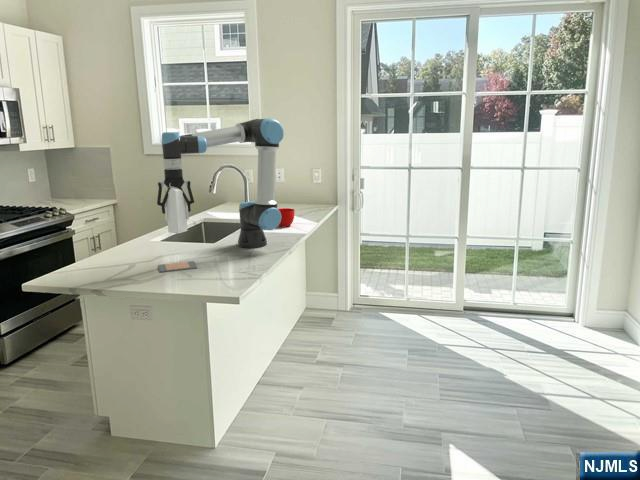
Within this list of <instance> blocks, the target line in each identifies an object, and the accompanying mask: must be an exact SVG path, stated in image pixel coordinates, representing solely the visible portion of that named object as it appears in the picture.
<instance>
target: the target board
mask: <svg viewBox="0 0 640 480" xmlns="http://www.w3.org/2000/svg"><path fill="white" fill-rule="evenodd" d="M157 266H158V272H159V274H160V273H161V274H162V273H169V272H170V273H171V272H177V271H185V270H186V271H187V270H194V269H198V266H197V264H196V262H195V261H194V260H191V261H181V262H174V263H173V262H172V263H164V264H158V265H157Z"/></svg>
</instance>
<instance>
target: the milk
mask: <svg viewBox="0 0 640 480" xmlns="http://www.w3.org/2000/svg"><path fill="white" fill-rule="evenodd" d="M170 187H171V186H170ZM168 188H169V187H167V188H165V190H164V195H165V194H166V192H167V190H168ZM181 188H182V189H183V191H184V193H185V194H186V191H185V188H184V187H183V186H182V187H181ZM183 191H181V190H180V189H179V188H176V187H173V186H172V187H171V188H170V190H169V192H168V198H167V201H166V203H165V206H166V207H167V219H168V221H167V231H168V233H173V234H181V233H185V232H188V220H187V216H186V204H187V203H186V201H185V199H184V197H183Z"/></svg>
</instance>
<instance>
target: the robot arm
mask: <svg viewBox="0 0 640 480" xmlns="http://www.w3.org/2000/svg"><path fill="white" fill-rule="evenodd" d="M284 135H285V131H284V127H283V125H282V124H281V123H280V121H279V120H277V119H273V118H254V119H251V120H248V121H243V122H239V123H236V124H235V125H234V126H229V127H222V128H218V129H217V128H216V129H211V130H206V131H200V132H194V133H190V134H188V133H187V134H182V135H181V134H180V132H179V131H173V132H172V131H170V132H167V131H165V132H163V133H162V134H161V148H162V156H163V157H162V158H163V159H162V161H163V168H164V171H163V173H164V180H163V181H162V182H161V181H158V182H157V186H158V191H157V199H156V205H157V206H160V207H161V213H162V214H163V215H164V219H165V222H168V219H167V207H166V201H167V198H168V192H169V190H170V188H171V187H172V186H173V187H176V188H179V189H180V190H181V191H183V189H182V188H181V187H183V185H184V184H185V186H186V189H187V192H188V195H189V198H188V197H187V195H186V192H185V193H184V191H183V197H184V199H185V201H186V216H187V221H188V220H189V219H190V218H189V216H190V215H189V213H190V212H191V211H192V210H191V204H194V203H195V200H194V196H193V193H192V188H191V181H190V180H184V177H183V176H184V175H183V169H182V167H183V164H182V163H183V162H182V155H185V154H186V155H189V154H204V153H206V152H207V150H208V148H211V147H216V146H221V145H222V146H223V145H226V144H232V143H240V144H243V143H244V144H245V143H254V147H255V148H256V149H257V185H256V186H257V187H256V188H257V191H256V193H257V194H256V200H252V201H245V202H240V204H239V206H238V207H239V209H238V211H239V212H238V213H239V225H240V227H239V228H240V232H239V236H238V240H237V245H238V247H239V248H246V249H255V248H262V247H264V246H267V244H268V242H267V237H266V235H265V232H264V231H273V230H275V229H277V227H279V226H278V225H279V224H280V222H281V213H280V211H279V210H278V209H279V208H278V201H276V200H275V197H276V196H275V193H276V191H275V190H276V189H275V188H276V187H275V185H276V152H277V150H278V149H279V148H280V142H282V140H283V139H284ZM164 185H165V186H166V187H167V188H168V187H169V188H168V190H167V192H166V194H165V193H164V196H163V199H162V192H163V188H164ZM170 186H171V187H170ZM161 201H162V202H161Z"/></svg>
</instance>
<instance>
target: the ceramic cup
mask: <svg viewBox="0 0 640 480" xmlns="http://www.w3.org/2000/svg"><path fill="white" fill-rule="evenodd" d="M277 209H278V210H279V211H280V213H281V222H280V224H279V225H278V226H277V227H279V228H288V227H291V225H292V224H293V223H294V219H295V209H294V208H288V207H287V208H286V207H285V208H277Z"/></svg>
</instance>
